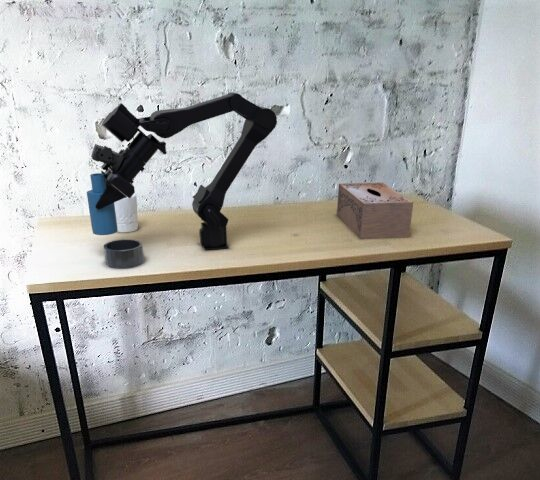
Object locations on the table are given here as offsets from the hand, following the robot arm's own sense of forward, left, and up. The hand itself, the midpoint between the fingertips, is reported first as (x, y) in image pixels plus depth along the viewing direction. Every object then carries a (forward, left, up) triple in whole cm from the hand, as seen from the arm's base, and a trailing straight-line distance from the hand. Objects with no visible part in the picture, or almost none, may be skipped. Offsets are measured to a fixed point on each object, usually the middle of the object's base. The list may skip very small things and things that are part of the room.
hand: (95, 205), depth 136 cm
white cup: (-7, -24, -14) cm, 28 cm away
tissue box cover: (-79, -10, -14) cm, 81 cm away
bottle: (-1, 0, -7) cm, 7 cm away
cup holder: (-5, +5, -13) cm, 15 cm away
